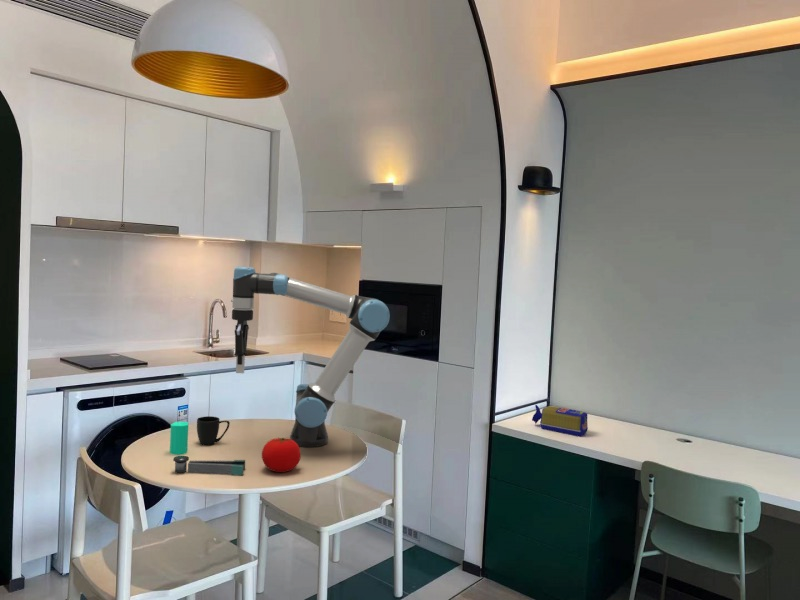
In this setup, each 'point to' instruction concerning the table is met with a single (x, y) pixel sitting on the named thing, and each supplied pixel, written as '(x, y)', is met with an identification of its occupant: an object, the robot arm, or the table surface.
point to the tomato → (281, 454)
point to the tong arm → (222, 462)
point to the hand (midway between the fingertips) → (240, 372)
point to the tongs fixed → (206, 467)
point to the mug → (209, 430)
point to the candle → (179, 438)
